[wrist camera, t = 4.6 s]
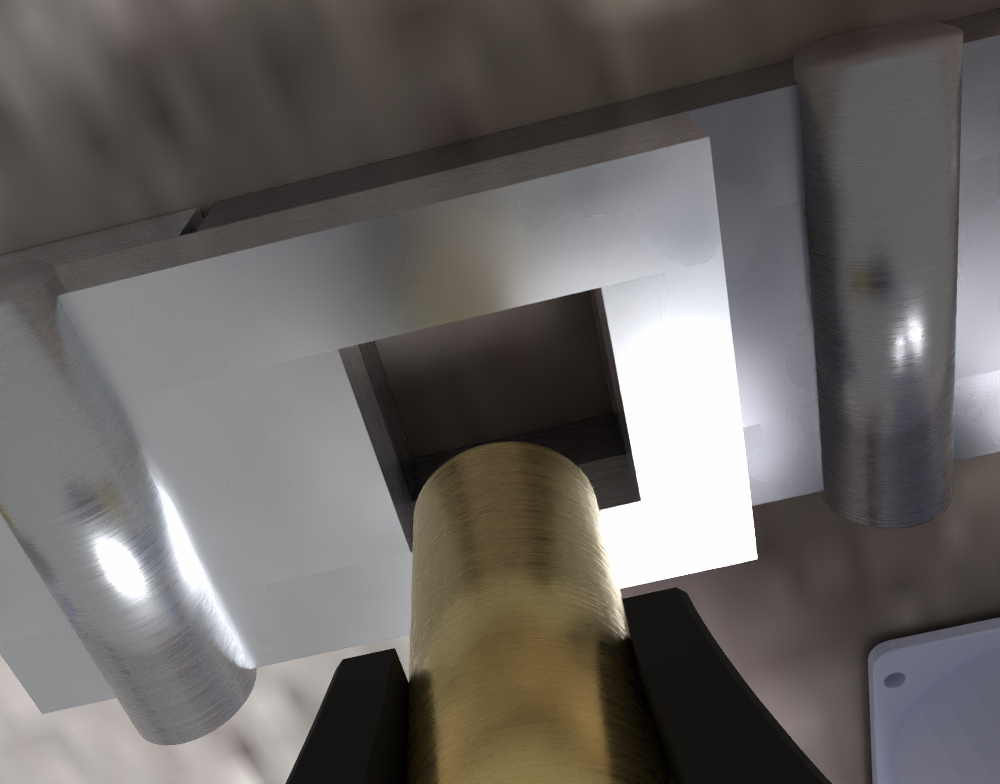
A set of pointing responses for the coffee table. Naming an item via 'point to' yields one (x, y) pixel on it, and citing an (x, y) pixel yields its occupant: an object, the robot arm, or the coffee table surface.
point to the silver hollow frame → (331, 412)
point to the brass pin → (520, 631)
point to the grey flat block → (811, 262)
